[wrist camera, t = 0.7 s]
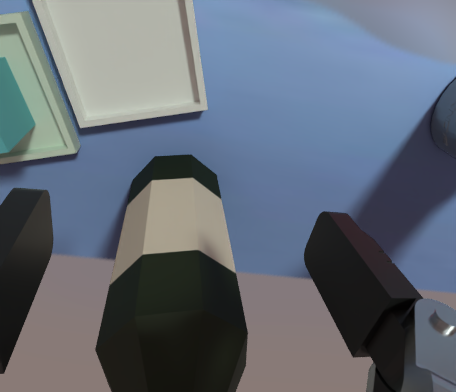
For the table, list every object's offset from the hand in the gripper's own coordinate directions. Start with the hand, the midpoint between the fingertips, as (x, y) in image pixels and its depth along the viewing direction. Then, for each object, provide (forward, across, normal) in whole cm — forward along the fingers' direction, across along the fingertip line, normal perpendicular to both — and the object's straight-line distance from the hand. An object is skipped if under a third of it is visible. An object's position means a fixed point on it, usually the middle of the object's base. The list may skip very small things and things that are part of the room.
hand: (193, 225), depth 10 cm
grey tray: (+19, +3, -2) cm, 19 cm away
